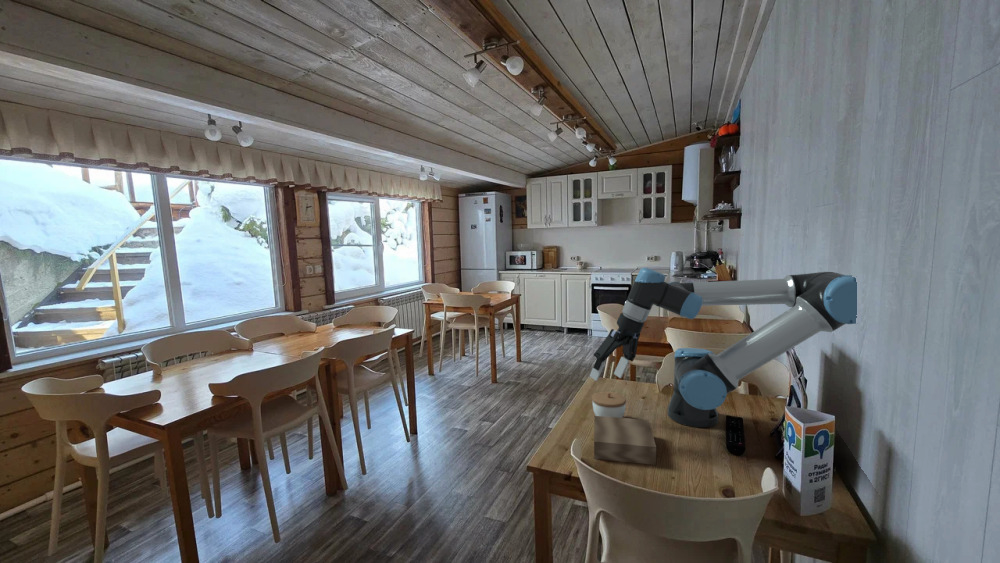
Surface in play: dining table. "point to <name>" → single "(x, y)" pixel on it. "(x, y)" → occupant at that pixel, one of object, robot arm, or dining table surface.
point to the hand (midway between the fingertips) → (605, 377)
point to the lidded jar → (608, 404)
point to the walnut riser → (624, 440)
